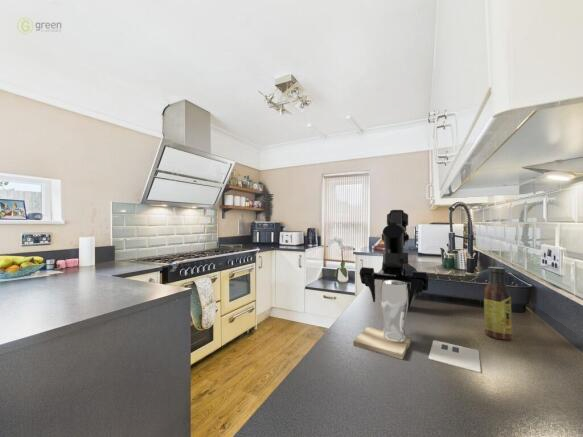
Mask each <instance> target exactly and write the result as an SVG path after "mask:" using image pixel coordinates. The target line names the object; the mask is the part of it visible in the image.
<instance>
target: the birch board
mask: <svg viewBox="0 0 583 437" xmlns="http://www.w3.org/2000/svg"><path fill="white" fill-rule="evenodd" d="M382 333H383V329H380V328H375V327H371V326H367V327H365V329H364V330H363V331H362V332H360V334H359V335H358V336H357V337H356V338H355V339H354V340H353V341H352V342H353V343H352V345H353V346H354V347H357V348H361V349H365V350H367V351H371V352H375V353H379V354H380V355H381V354H382V355H384V356H385V355H386V356H389V357H391V358H396V359H399V360H403V359H404V358H405V355H406V353H407V351H408V349H409V347H410V345H411V343H412V336H410V335H406V341H405V342H403V343H395V342H390V341H388V340H386V339H384V338H383V337H382Z"/></svg>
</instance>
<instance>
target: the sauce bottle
mask: <svg viewBox="0 0 583 437" xmlns="http://www.w3.org/2000/svg"><path fill="white" fill-rule="evenodd" d="M487 273H488V283H487V284H486V285H485V287H484V290H483V295H484V297H483V324H484V325H483V327H484V333H485V334H486V335H487V336H489V337H490V336H491V337H490V338H494V339H499V340H502V339H503V340H505V339H506V340H510V339H512V333H513V330H512V329H513V327H512V326H513V324H512V295H511V294H510V291H509V289H508V287H507V284H506V275H505V274H506V268H505V267H502V266H501V267H500V266H487Z"/></svg>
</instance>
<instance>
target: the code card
mask: <svg viewBox="0 0 583 437" xmlns="http://www.w3.org/2000/svg"><path fill="white" fill-rule="evenodd" d="M427 359H428V360H431V361H435V362H438V363H442V364H445V365H450V366H453V367H456V368H460V369H463V370H469V371H471V372H475V373H478V374H481V373H482V372H481V371H482V370H481V362H480V352H479V349H474V348H470V347H465V346H461V345H457V344H451V343H449V342H444V341H439V340H435V339H433V340H432V344H431V348H430V351H429V355H428V358H427Z"/></svg>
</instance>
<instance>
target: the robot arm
mask: <svg viewBox="0 0 583 437" xmlns="http://www.w3.org/2000/svg"><path fill="white" fill-rule="evenodd" d="M408 226H409V214H408V213H406V212H405V211H404V209H392V210H390V212H389V213H388V214H386V226H385V227H384V228H383V229H382V233H381V241H382V242H383V245H384V252H383V254H382V265H381V271H382V272H376V271H375V268H374V267H365V266H363V267H361V268H360V269H359V278H360V282H361V284H363V285H365V287H367V288H368V289H369V291H370V294H371V298H372V302H373V303H375V302H376V282H375V281H376V280H379V281H383V280H398V281H403V282H406V283H407V287H408V308H411V306H412V304H413V302H414V300H415V299H416V296H418V294H420V293H423V292H424V291H425V292H426V291H428V289H429V288H428V287H429V273H427V272H426V271H416V270H414V271H412V275H407V270H406V269H405V268H404V266H408V265H409V253H408V252H405V247H404V246H405V245H406V243H408V241H409V240H410V235H409V234H408V232H407V227H408Z"/></svg>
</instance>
